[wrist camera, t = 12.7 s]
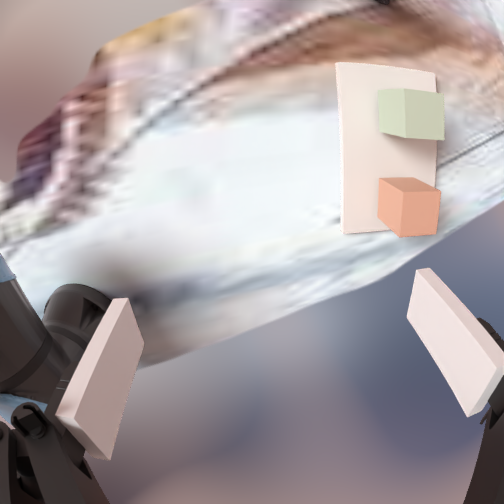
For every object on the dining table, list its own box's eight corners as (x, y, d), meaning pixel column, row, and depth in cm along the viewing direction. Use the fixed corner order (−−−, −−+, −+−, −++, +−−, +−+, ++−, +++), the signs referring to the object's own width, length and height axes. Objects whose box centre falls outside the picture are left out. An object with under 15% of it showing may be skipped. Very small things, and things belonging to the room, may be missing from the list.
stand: (340, 230, 41) (362, 260, 33) (335, 63, 31) (361, 51, 23) (426, 223, 41) (459, 249, 33) (430, 73, 31) (469, 71, 23)
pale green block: (379, 131, 33) (405, 137, 27) (377, 90, 31) (404, 88, 25) (415, 133, 33) (444, 140, 27) (414, 93, 31) (443, 93, 25)
